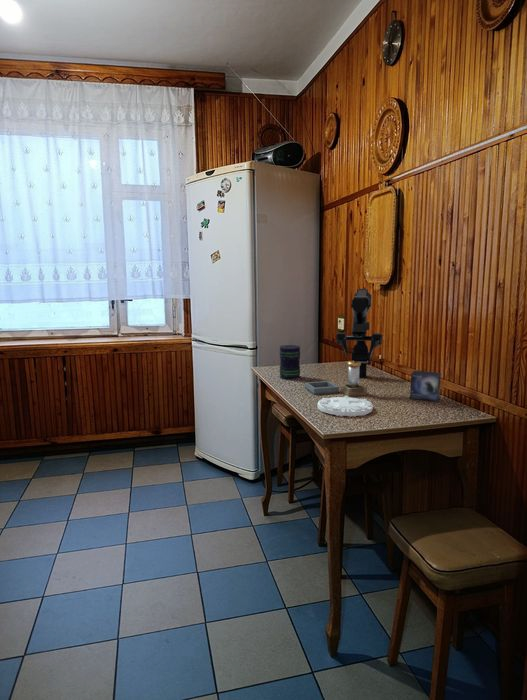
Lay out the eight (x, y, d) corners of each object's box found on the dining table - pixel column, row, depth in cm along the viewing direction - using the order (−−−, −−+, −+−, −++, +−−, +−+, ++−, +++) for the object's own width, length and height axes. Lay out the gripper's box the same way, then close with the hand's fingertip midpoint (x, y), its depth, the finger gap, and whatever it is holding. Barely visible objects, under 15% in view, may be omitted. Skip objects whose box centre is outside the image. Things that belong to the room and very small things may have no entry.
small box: (409, 399, 184) (410, 373, 183) (412, 395, 190) (413, 370, 188) (437, 402, 179) (438, 375, 178) (439, 398, 185) (441, 372, 183)
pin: (344, 392, 196) (345, 361, 194) (356, 391, 197) (357, 360, 195) (350, 395, 191) (350, 364, 189) (362, 394, 192) (363, 363, 190)
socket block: (340, 391, 197) (340, 384, 196) (357, 390, 199) (358, 383, 198) (348, 396, 189) (348, 389, 189) (366, 394, 191) (366, 387, 191)
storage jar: (300, 379, 219) (300, 348, 217) (279, 379, 220) (279, 348, 217) (299, 375, 229) (299, 345, 227) (279, 375, 229) (279, 345, 227)
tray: (304, 388, 203) (304, 382, 202) (328, 386, 206) (328, 381, 205) (313, 394, 192) (313, 388, 192) (338, 392, 195) (338, 386, 195)
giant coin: (379, 407, 175) (379, 399, 175) (362, 421, 158) (362, 413, 158) (329, 400, 185) (329, 393, 185) (308, 412, 168) (308, 404, 168)
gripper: (336, 314, 194) (333, 349, 188) (382, 314, 189) (381, 350, 183) (338, 326, 204) (335, 359, 198) (382, 326, 199) (381, 360, 193)
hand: (358, 357), depth 193 cm, fingers open, 9 cm apart
